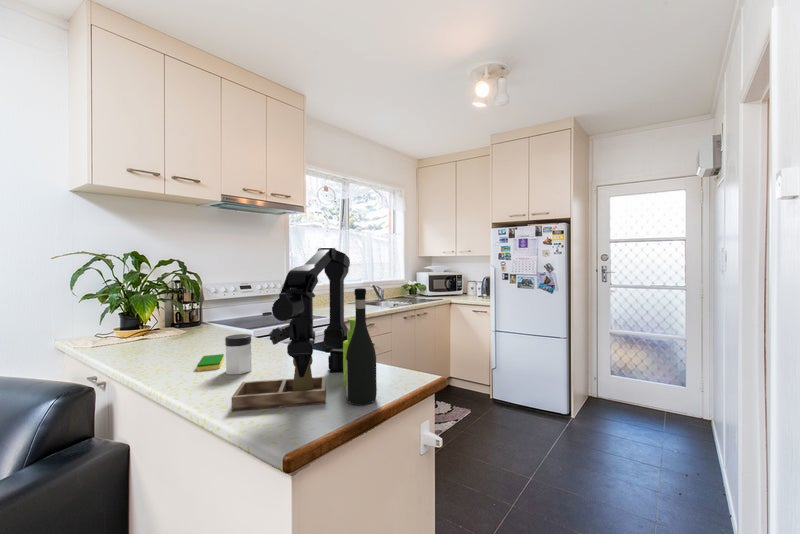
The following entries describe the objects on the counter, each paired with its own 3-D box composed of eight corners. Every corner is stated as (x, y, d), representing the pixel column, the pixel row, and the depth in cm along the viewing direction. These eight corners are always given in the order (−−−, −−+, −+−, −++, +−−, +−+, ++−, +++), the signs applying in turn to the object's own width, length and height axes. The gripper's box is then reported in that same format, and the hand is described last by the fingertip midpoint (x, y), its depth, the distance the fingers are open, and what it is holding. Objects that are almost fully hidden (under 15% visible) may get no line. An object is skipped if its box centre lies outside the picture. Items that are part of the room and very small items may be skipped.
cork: (317, 390, 104) (316, 351, 104) (310, 398, 98) (309, 357, 98) (296, 389, 104) (296, 351, 104) (288, 397, 98) (287, 356, 98)
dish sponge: (197, 372, 127) (196, 365, 127) (203, 362, 140) (203, 355, 140) (219, 369, 129) (219, 362, 129) (224, 360, 142) (223, 353, 142)
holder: (325, 388, 108) (325, 376, 108) (325, 403, 96) (325, 390, 96) (242, 394, 104) (242, 381, 103) (231, 411, 92) (231, 397, 92)
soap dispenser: (368, 381, 113) (367, 317, 113) (356, 388, 107) (355, 320, 107) (352, 379, 116) (351, 316, 116) (339, 386, 110) (338, 319, 109)
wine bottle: (340, 402, 97) (338, 289, 96) (358, 393, 103) (357, 287, 103) (364, 408, 92) (363, 290, 92) (382, 398, 99) (381, 287, 99)
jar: (252, 372, 124) (252, 337, 123) (226, 376, 120) (225, 339, 120) (250, 366, 132) (250, 332, 132) (225, 369, 128) (225, 335, 128)
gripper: (276, 311, 108) (276, 364, 108) (265, 321, 90) (266, 385, 90) (314, 310, 110) (315, 362, 110) (312, 320, 92) (312, 382, 92)
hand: (302, 371), depth 101 cm, fingers open, 9 cm apart
